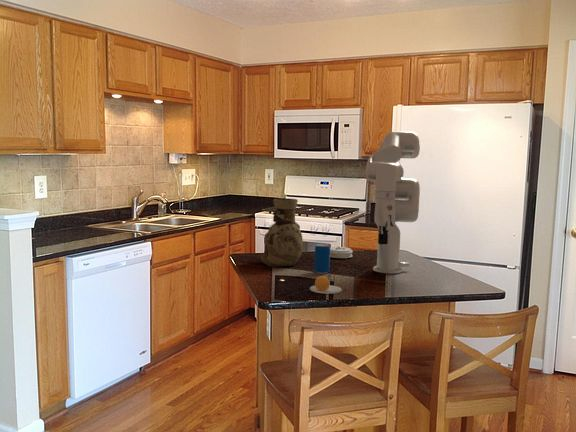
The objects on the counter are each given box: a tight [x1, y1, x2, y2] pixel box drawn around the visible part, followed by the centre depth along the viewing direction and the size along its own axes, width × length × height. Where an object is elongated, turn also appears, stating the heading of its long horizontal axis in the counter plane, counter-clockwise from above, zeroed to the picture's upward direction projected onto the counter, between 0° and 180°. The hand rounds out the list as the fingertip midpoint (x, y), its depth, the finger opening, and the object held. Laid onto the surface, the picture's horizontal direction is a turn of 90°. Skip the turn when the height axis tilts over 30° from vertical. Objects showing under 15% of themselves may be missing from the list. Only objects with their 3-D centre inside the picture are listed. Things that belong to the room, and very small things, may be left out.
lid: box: [329, 246, 354, 259], centre depth 255 cm, size 13×13×5 cm
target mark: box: [309, 284, 343, 295], centre depth 193 cm, size 12×12×1 cm
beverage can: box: [313, 243, 331, 275], centre depth 220 cm, size 6×6×12 cm
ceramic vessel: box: [260, 198, 304, 268], centre depth 233 cm, size 19×21×30 cm
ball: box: [314, 275, 331, 291], centre depth 191 cm, size 6×6×6 cm
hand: (382, 243), depth 196 cm, fingers closed
